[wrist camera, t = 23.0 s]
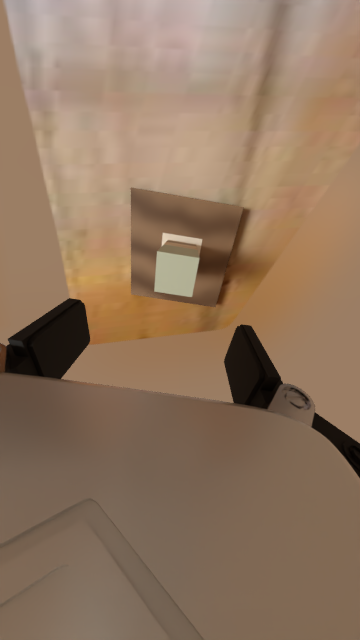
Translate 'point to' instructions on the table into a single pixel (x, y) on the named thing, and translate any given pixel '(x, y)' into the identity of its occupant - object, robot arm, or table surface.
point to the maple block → (181, 244)
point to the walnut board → (184, 226)
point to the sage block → (176, 270)
